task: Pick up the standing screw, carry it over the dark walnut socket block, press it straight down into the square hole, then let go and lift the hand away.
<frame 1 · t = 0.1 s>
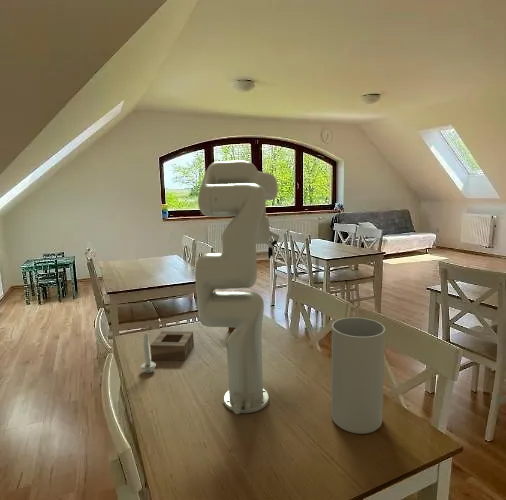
hand: (257, 257, 146), 31 cm above the table, tool pointing down, fingers open, 9 cm apart
socket block: (173, 352, 139), on the table
cylinder vase: (356, 420, 98), on the table
screw: (148, 372, 126), on the table
disposable coffee cup: (236, 330, 158), on the table
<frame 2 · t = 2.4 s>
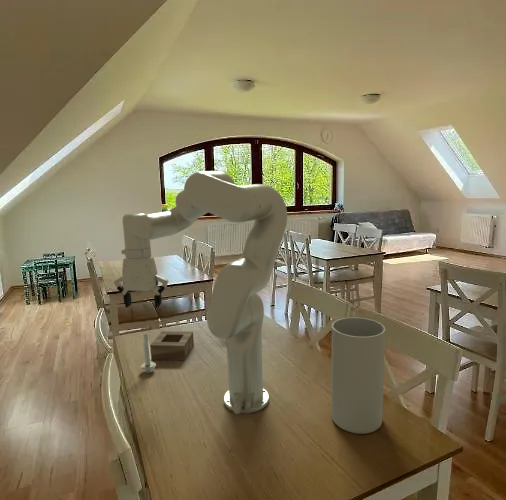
hand: (143, 306, 122), 22 cm above the table, tool pointing down, fingers open, 9 cm apart
nothing on the table moved.
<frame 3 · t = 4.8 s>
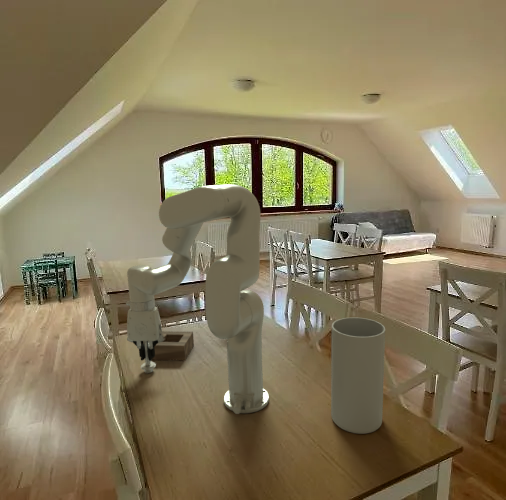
hand: (147, 358, 125), 5 cm above the table, tool pointing down, fingers closed on screw, 2 cm apart
screw: (148, 372, 126), on the table, touching gripper
everything else where it was.
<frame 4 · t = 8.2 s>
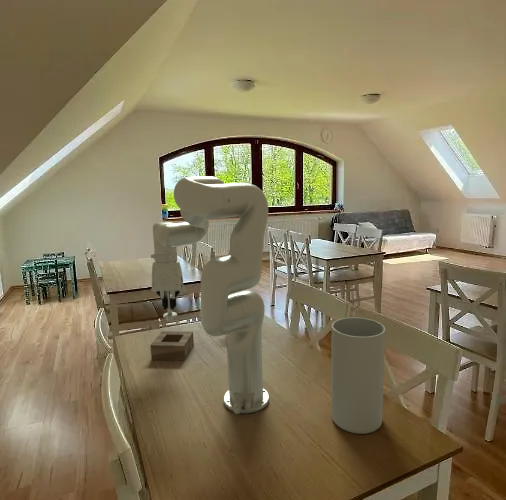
hand: (169, 308, 137), 17 cm above the table, tool pointing down, fingers closed on screw
screw: (170, 320, 138), point 12 cm above the table, touching gripper
everything else where it was.
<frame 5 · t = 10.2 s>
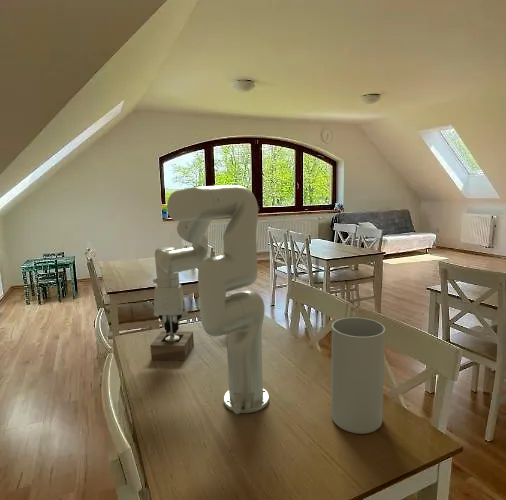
hand: (172, 331, 138), 8 cm above the table, tool pointing down, fingers closed on screw
screw: (172, 344, 139), point 3 cm above the table, touching gripper
everything else where it was.
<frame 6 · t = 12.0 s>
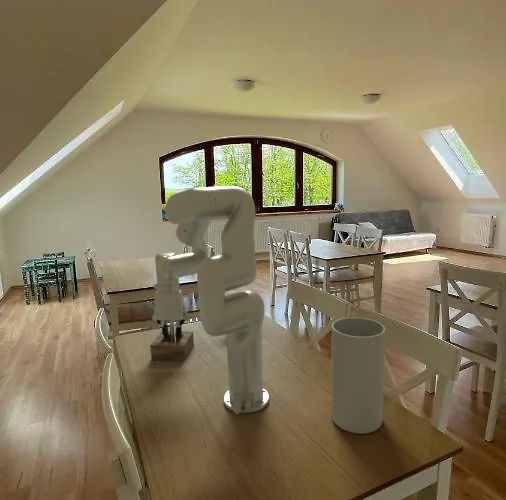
hand: (172, 336, 138), 6 cm above the table, tool pointing down, fingers open, 3 cm apart
screw: (174, 353, 139), on the table
everything else where it was.
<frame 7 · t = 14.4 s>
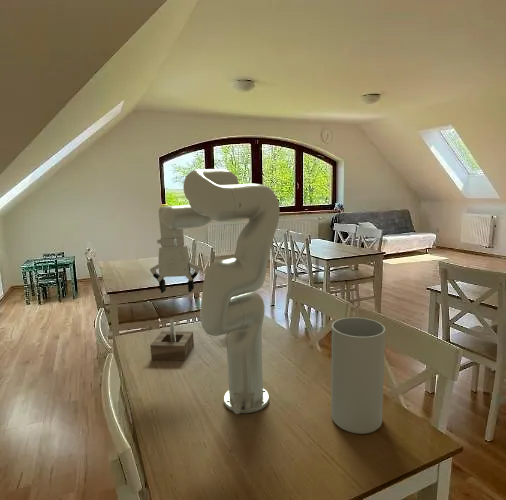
hand: (177, 291, 133), 23 cm above the table, tool pointing down, fingers open, 9 cm apart
nothing on the table moved.
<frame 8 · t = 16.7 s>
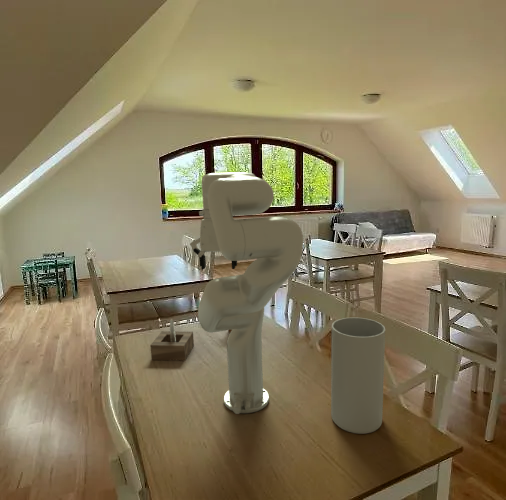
hand: (218, 268, 122), 33 cm above the table, tool pointing down, fingers open, 9 cm apart
nothing on the table moved.
at the end: screw 0.2 cm off-centre on the socket block, point 0.0 cm above the socket block's base; screw tilted 0°; the gripper is holding nothing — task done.
